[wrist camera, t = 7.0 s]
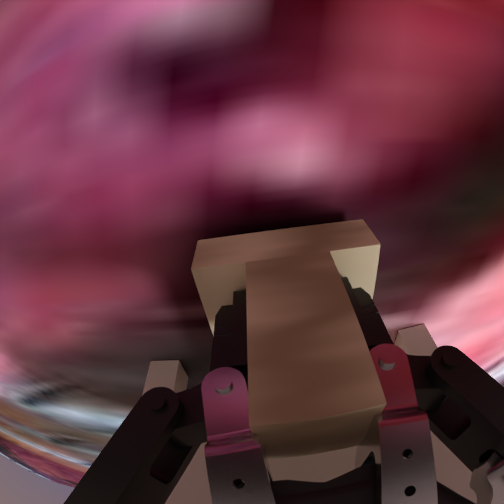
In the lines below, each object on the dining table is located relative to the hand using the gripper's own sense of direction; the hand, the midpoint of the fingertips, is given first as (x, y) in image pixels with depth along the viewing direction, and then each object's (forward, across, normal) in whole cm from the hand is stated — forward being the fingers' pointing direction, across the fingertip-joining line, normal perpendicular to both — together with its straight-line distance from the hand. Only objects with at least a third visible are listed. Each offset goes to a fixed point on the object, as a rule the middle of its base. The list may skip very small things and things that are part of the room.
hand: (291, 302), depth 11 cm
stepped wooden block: (+2, 0, +6) cm, 7 cm away
